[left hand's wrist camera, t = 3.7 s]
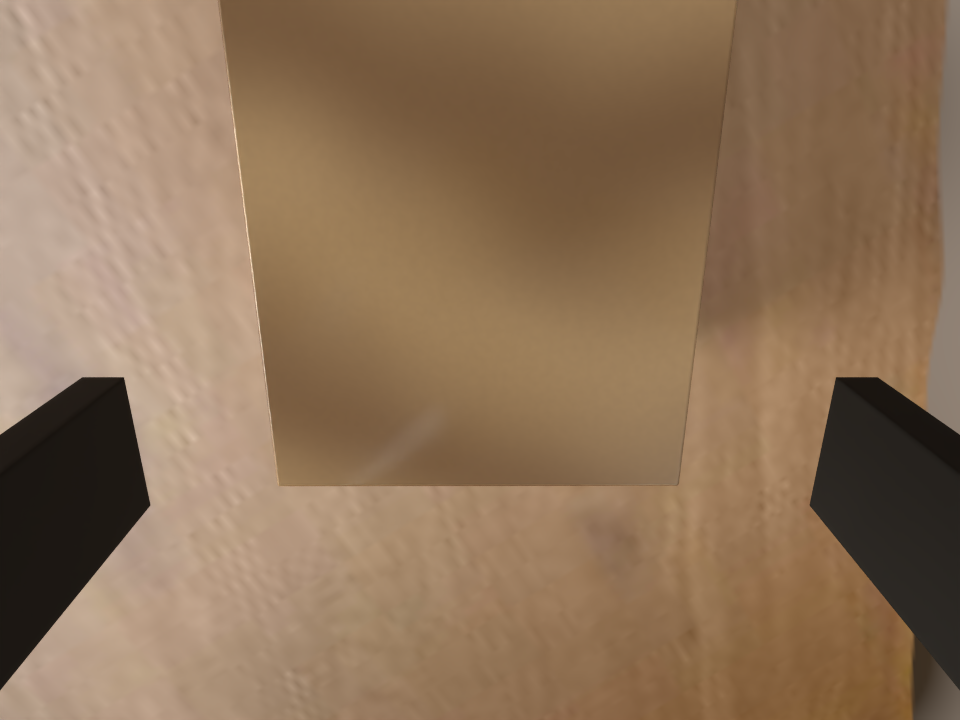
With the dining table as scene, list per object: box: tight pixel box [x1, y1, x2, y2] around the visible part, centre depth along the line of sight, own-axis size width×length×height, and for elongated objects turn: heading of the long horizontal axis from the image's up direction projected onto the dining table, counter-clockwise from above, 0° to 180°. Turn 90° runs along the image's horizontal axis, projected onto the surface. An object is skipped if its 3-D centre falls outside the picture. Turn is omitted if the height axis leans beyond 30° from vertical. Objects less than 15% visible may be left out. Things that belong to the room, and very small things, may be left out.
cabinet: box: [218, 0, 738, 486], centre depth 20 cm, size 22×11×10 cm, turn 0°
